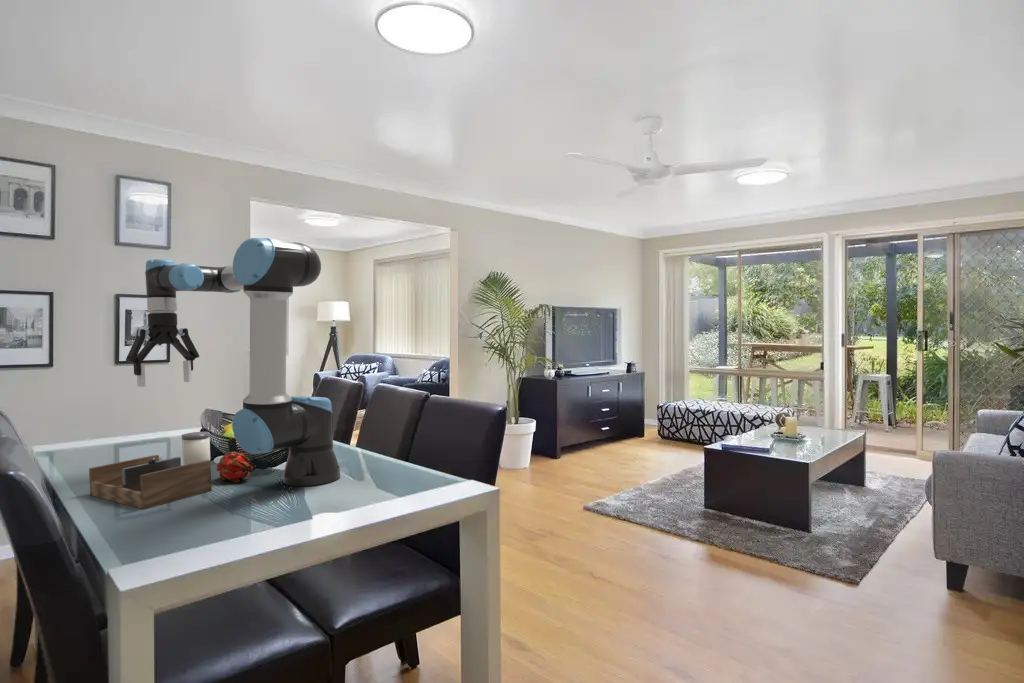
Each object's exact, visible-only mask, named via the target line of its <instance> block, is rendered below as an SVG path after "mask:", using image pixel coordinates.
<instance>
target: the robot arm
mask: <svg viewBox="0 0 1024 683" xmlns="http://www.w3.org/2000/svg"><path fill="white" fill-rule="evenodd" d="M232 260H233V261H232V264H231V265H226V266H218V267H217V266H205V265H196V264H194V263H183V262H182V263H180V264H175V261H173V260H170V259H161V258H160V259H158V258H157V259H148V260H147V261H146V262H145V271H144V275H145V288H146V305H147V306H146V308H147V312H149V313H147V326H148V329H144V328H140V329H137V330H136V334H135V335H136V337H135V338H134V339H135V340H133V343H132V345H131V347H130V348H129V349H130V350H129V352H128V354H127V356H126V358H125V362H127V363H130V364H132V365H133V375H134V376H136V379H137V383H136V384H137V387H139V388H141V387H142V388H145V387H146V369H145V367H146V365H145V363H142V362H144V360H145V359H146V358H147V356H148V355H149V354H150V352H151V351H152V350H153V349H154V348H155V347H156V346H157V345H164V344H165V345H168V344H170V345H172V346H173V348H174V349H176V350H177V352H178V353H179V354H180V355H181V356H182V357H183V359H185V360H183V361H182V367H183V368H182V369H183V370H182V371H183V382H184V383H192V371H194V361H195V360H196V359H198V358H200V354H199V352H198V350H197V348H196V346H195V345H194V343H193V341H192V339H191V338H190V335H189V330H188V328H186V327H184V328H182V327H181V328H179V329H178V313H176V312H178V311H177V310H178V306H177V292H201V293H202V292H206V293H207V292H212V293H214V292H215V293H224V294H225V293H226V294H228V293H229V294H231V293H238V292H241V291H242V290H243V294H245V295H246V296H247V297H248V298H249V393H248V394H247V395H246V396H245V398H243V399H242V408H241V409H239V410H238V411H237V412H236V413H235V414H234V416H233V417H232V422H231V425H232V426H231V428H232V433H233V437H234V439H235V441H236V442H237V444H238V445H239V447H240V448H241V449H242V450H243V451H245V452H246V453H248V454H251V455H258V454H260V455H261V454H267V453H268V454H269V453H271V452H273V451H278V450H283V449H286V448H288V456H287V459H286V464H285V468H284V470H283V473H282V482H283V484H285V485H288V486H293V487H308V486H310V487H311V486H318V485H319V486H320V485H323V484H324V485H325V484H328V483H331V482H335V481H337V480H338V479H340V477H341V468H340V465H339V463H338V459H337V456H336V454H335V451H334V439H333V438H334V437H333V434H334V431H333V428H334V427H333V414H334V413H333V412H334V411H333V409H332V407H333V405H332V401H331V400H330V398H329V397H324V396H323V397H322V396H306V395H305V396H304V395H300V396H299V395H296V396H295V395H293V396H290V395H289V394H288V393H287V386H286V385H287V309H288V308H287V306H288V305H287V303H288V302H287V300H288V299H289V298H290V297H291V296H292V295H293V294H294V288H295V287H297V288H298V287H307V286H309V285H312V284H313V283H314V282H315V281H316V280H318V278H319V276H320V275H321V274H320V273H321V271H322V263H321V262H322V261H321V259H320V256H319V254H318V253H317V252H316V251H315V250H314V249H313V248H312V247H311V246H309V245H307V244H304V243H301V242H293V241H287V240H286V241H285V240H281V239H274V238H266V237H250V238H248V239H246V240H244V241H243V242H241V244H240V246H239V247H237V249H236V251H235V253H234V256H233V259H232ZM147 336H148V337H149V339H147V341H146V344H145V345H144V342H145V340H146V337H147ZM177 336H180V339H181V341H182V342H183V344H184V345H183V344H182V343H181V341H180V339H179V338H178V337H177ZM143 345H144V346H143ZM142 346H143V347H142Z"/></svg>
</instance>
